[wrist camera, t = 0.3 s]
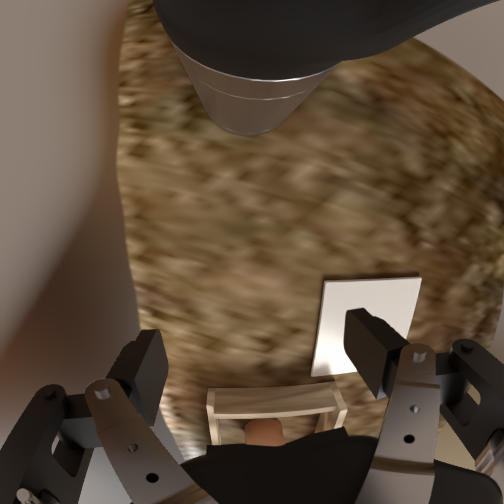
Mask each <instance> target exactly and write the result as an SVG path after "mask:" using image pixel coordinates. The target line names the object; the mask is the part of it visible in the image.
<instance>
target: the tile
mask: <svg viewBox="0 0 504 504" xmlns="http://www.w3.org/2000/svg"><path fill="white" fill-rule="evenodd" d="M421 280H422V278H421V277H402V278H381V279H357V280H326V281H324V287H323V295H322V303H321V310H320V318H319V325H318V331H317V338H316V344H315V351H314V356H313V362H312V368H311V373H310V374H311V377H315V376H324V375H333V374H341V373H348V372H355V371H357V370H356V368H355V367H354V365H353V364H352V362H351V361H350V359H349V358H348V356H347V355H346V353H345V350H344V345H343V339H344V326H345V314H346V311H347V310H351V309H357V308H365V309H366V310H367V311H368V312H369V313H370V314H371V315H372V316H376V317H379V318H381V319H383V320H385V321H386V322H387V323H388V324H389V325H390V326H391V327H393V328H394V329H395V331H397V332H398V333H399V334H400V335H401V336H403V337H404V338H405V339H406V337H407V334H408V331H409V327H410V324H411V320H412V317H413V313H414V309H415V305H416V301H417V297H418V293H419V289H420V284H421Z"/></svg>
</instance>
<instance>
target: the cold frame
mask: <svg viewBox="0 0 504 504" xmlns="http://www.w3.org/2000/svg"><path fill="white" fill-rule="evenodd" d="M206 406H207V413H208V420H209V427H210V434H211V440H212V445H221V438H220V429H219V420H218V419H253V418H274V417H287V416H298V415H307V414H316V413H320V416H319V419H318V423H317V426H316V429H315V433H318V432H322V431H327V430H331V429H335V428H339V427H341V426H342V423H343V420H344V418H345V415H346V412H347V407H346V405H345V403H344V401H343V398H342V396H341V394H340V392H339V389H338V387H337V385H336V383H335V381H333V382H325V383H316V384H306V385H295V386H281V387H261V388H208V394H207V404H206Z"/></svg>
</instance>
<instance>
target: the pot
mask: <svg viewBox="0 0 504 504" xmlns="http://www.w3.org/2000/svg"><path fill="white" fill-rule="evenodd" d="M244 429H245V444H250V445H262V446H281V445H284V444H285V441H284V435H283V430H282V425H281V423H280V421H278V420H277V419H274V418H257V419H254V420H251V421H250V422H248V423H247V424H246V425H245V428H244Z"/></svg>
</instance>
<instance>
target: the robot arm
mask: <svg viewBox="0 0 504 504" xmlns="http://www.w3.org/2000/svg"><path fill="white" fill-rule="evenodd" d="M496 1H499V0H153V4H154V7H155V10H156V12H157V15H158V18H159V19H160V21H161V23H162V25H163V27H164V29H165V31H166V33H167V35H168V37H169V39H170V41H171V43H172V45H173V47H174V49H175V51H176V53H177V54H178V56H179V58H180V60H181V62H182V64H183V66H184V68H185V70H186V72H187V74H188V76H189V78H190V80H191V82H192V84H193V86H194V88H195V90H196V92H197V94H198V96H199V98H200V100H201V102H202V104H203V107H204V109H205V111H206V113H207V115H208V116H209V117H210V119H211V120H212V121H213V122H214V123H215V124H216V125H217V126H219V127H220V128H221V129H223V130H225V131H227V132H229V133H232V134H236V135H242V136H255V135H260V134H263V133H267V132H269V131H271V130H273V129H274V128H276V127H277V126H278V125H279V124H281V123H282V122H283V121H284V120H285V119H286V118H287V116H289V115H290V113H291V112H292V111H293V110H294V109H295V108H296V107H297V106H298V105H299V104H300V103H301V102H302V101H303V100H304V99H305V98H306V97H307V96H308V95H309V94H310V93H311V92H312V91H313V90H314V89H315V88H316V87H317V86H318V85H319V84H320V83H321V82H322V81H323V80H324V79H325V78H326V77H327V76H328V75H329V73H330V72H331V71H333V70H334V69H335V68H336V67H337V66H338V65H339V64H340V63H341V62H342V61H346V60H354V59H360V58H365V57H369V56H373V55H376V54H379V53H382V52H384V51H387V50H389V49H391V48H393V47H395V46H397V45H399V44H401V43H403V42H404V41H406V40H408V39H410V38H412V37H414V36H416V35H418V34H420V33H422V32H424V31H426V30H427V29H430V28H432V27H434V26H436V25H438V24H440V23H443V22H445V21H447V20H449V19H452V18H454V17H456V16H458V15H461V14H463V13H466V12H468V11H471V10H473V9H476V8H479V7H481V6H484V5H487V4H490V3H493V2H496ZM343 345H344V350H345V353H346V355H347V356H348V358H349V359H350V361H351V362H352V364H353V365H354V367H355V368H356V370H357V371H358V373H359V374H360V375H361V377H362V378H363V380H364V381H365V383H366V384H367V386H368V387H369V389H370V390H371V392H372V393H373V395H374V396H375V398H376V399H380V398H384V397H388V398H389V400H388V403H387V407H386V410H385V414H384V417H383V421H382V424H381V427H380V430H379V433H378V436H377V438H376V437H372V436H366V435H348V434H347V432H346V430H345V428H344V426H343V427H339V428H335V429H331V430H327V431H322V432H318V433H313V434H310V435H308V436H305V437H303V438H300V439H298V440H295V441H292V442H290V443H287V444H284V445H281V446H262V445H250V444H228V445H207V453H206V455H202V456H199V457H195V458H192V459H190V460H188V461H185V462H184V463H182V464H180V465H179V464H178V463H177V461H176V460H175V459H174V458H173V457H172V455H171V454H170V453H169V452H168V450H167V449H166V448H165V446H164V445H163V444H162V443H161V441H160V440H159V439H158V437H157V436H156V435H155V433H154V432H153V431H152V429H151V428H150V426H154V423H155V419H156V415H157V411H158V407H159V404H160V400H161V396H162V393H163V389H164V386H165V382H166V379H167V375H168V359H167V356H166V352H165V348H164V344H163V340H162V336H161V333H160V331H159V329H150V330H141V332H140V333H139V336H138V337H137V339H136V340H135V341H131V342H130V343H128V344H127V345H126V346H124V347H123V349H122V351H121V352H120V355H119V356H118V357H117V359H116V361H115V362H114V364H113V366H112V368H111V369H110V371H109V373H108V375H107V376H106V378H104V379H99V380H96V381H94V382H92V383H91V384H89V385H88V386H87V387H86V389H85V392H84V394H76V395H67V393H66V392H65V389H64V388H63V387H62V386H60V385H57V384H51V385H47V386H44V387H42V388H41V389H39V391H37V392H36V394H35V395H34V397H33V398H32V400H31V401H30V403H29V404H28V406H27V407H26V409H25V410H24V412H23V413H22V415H21V416H20V418H19V420H18V421H17V423H16V425H15V426H14V428H13V430H12V431H11V433H10V435H9V436H8V438H7V440H6V441H5V443H4V445H3V446H2V448H1V450H0V504H78V501H79V497H80V494H81V490H82V486H83V482H84V479H85V476H86V472H87V469H88V466H89V463H90V460H91V457H92V454H93V451H94V447H103V448H104V451H105V453H106V455H107V457H108V459H109V461H110V463H111V465H112V467H113V469H114V471H115V472H116V474H117V476H118V478H119V480H120V482H121V483H122V485H123V487H124V489H125V490H126V492H127V494H128V495H129V497H130V499H131V500H132V502H131V503H130V504H503V501H504V364H502V363H501V362H500V361H499V360H498V359H497V358H495V357H494V356H493V355H492V354H491V353H489V352H488V351H487V350H486V349H485V348H483V347H482V346H481V345H480V344H478V343H477V342H475V341H473V340H470V339H459V340H456V341H455V342H453V344H452V347H451V351H450V352H446V353H437V354H436V353H435V351H434V350H433V349H432V348H431V347H429V346H427V345H424V344H418V343H414V344H410V343H409V342H408V341H407V340H406V339H405V338H404V337H403V336H401V335H400V334H399V333H398V332H397V331H395V329H394V328H393V327H391V326H390V325H389V324H388V323H387V322H386V321H385V320H383V319H381V318H379V317H376V316H372V315H371V314H370V313H369V312H368V311H367V310H366V309H365V308H357V309H351V310H347V311H346V314H345V326H344V339H343ZM470 383H471V384H472V385H473V386H474V387H475V388H476V389H477V390H478V392H479V393H480V396H481V401H480V404H479V405H478V404H477V403H476V402H475V401H474V400H473V398H472V397H471V396H470V395H469V394H468V393H467V390H468V387H469V385H470ZM439 411H440V413H441V414H442V415H443V417H444V418H445V419H446V421H447V422H448V423H449V425H450V426H451V427H452V429H453V430H454V432H455V433H456V434H457V436H458V437H459V438H460V440H461V442H462V443H463V444H464V446H465V447H466V449H467V450H468V452H469V453H470V454H471V456H472V457H473V459H474V460H475V470H476V471H473V470H469V469H465V468H462V467H458V466H454V465H451V464H447V463H445V462H441V461H438V460H435V459H434V455H435V448H436V441H437V432H438V422H439ZM56 435H57V436H58V437H59V442H58V444H57V446H56V448H55V451H54V453H53V455H52V451H51V447H52V443H53V441H54V439H55V437H56Z"/></svg>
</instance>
